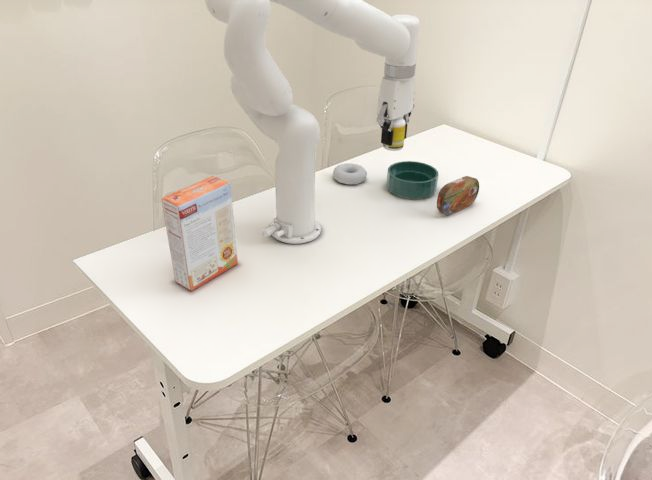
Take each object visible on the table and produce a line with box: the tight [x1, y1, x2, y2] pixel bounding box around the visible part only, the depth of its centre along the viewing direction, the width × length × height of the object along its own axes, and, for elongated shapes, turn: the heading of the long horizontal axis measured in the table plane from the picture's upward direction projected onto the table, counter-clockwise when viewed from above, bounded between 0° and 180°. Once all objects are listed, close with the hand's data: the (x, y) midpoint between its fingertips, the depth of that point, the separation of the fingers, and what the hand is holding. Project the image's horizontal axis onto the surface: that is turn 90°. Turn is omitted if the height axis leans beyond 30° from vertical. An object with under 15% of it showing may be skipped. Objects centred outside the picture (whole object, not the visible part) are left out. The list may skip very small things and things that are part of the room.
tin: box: [436, 175, 480, 216], centre depth 157 cm, size 15×3×8 cm, turn 129°
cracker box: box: [161, 175, 238, 292], centre depth 125 cm, size 14×6×21 cm, turn 141°
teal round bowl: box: [386, 160, 439, 200], centre depth 167 cm, size 14×14×6 cm
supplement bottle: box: [382, 115, 407, 152], centre depth 150 cm, size 5×5×10 cm
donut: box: [332, 162, 368, 185], centre depth 172 cm, size 10×4×10 cm
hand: (393, 140), depth 152 cm, fingers closed on supplement bottle, 5 cm apart
